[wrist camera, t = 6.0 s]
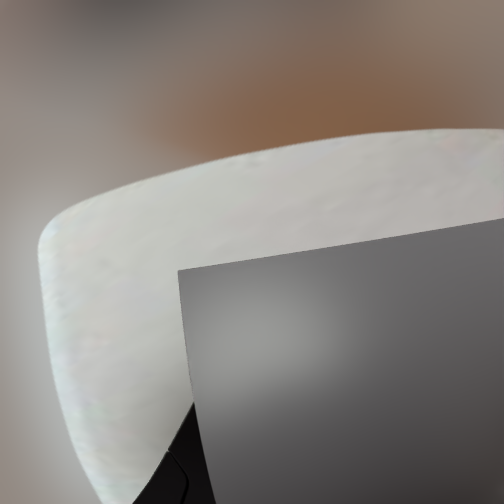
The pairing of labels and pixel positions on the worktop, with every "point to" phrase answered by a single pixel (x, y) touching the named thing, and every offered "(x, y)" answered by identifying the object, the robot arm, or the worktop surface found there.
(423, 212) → the worktop surface
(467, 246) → the grey rectangular block
